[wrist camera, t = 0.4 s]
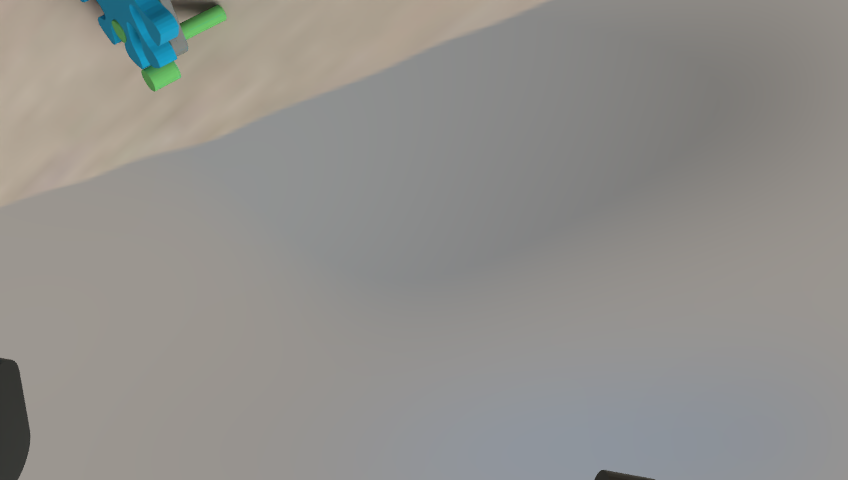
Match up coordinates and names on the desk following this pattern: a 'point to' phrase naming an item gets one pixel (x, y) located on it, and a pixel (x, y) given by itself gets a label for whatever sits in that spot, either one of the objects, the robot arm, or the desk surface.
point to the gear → (154, 34)
